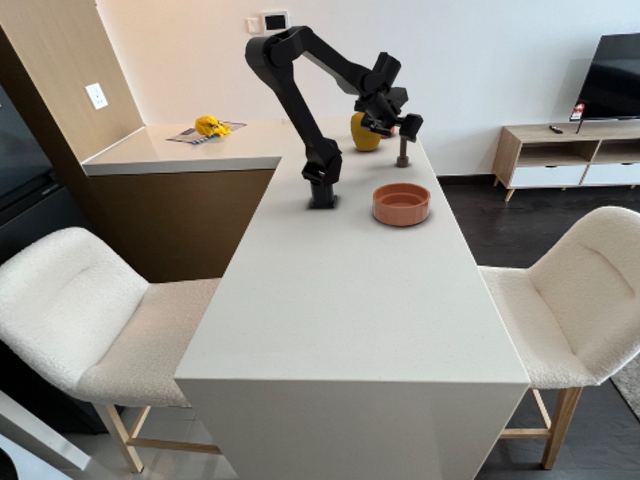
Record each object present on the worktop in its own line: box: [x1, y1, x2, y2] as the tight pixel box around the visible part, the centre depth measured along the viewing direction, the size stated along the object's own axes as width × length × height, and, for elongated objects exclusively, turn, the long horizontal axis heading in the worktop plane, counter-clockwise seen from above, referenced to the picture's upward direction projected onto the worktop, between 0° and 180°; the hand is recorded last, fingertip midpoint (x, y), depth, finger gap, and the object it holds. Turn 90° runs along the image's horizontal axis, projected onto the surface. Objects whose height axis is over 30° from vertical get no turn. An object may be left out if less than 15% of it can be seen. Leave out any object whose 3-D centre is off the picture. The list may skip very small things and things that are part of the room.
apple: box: [349, 112, 382, 152], centre depth 115 cm, size 11×11×13 cm
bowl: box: [372, 182, 432, 227], centre depth 80 cm, size 13×13×5 cm
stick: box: [396, 115, 410, 168], centre depth 101 cm, size 4×4×14 cm
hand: (402, 138), depth 100 cm, fingers open, 9 cm apart
